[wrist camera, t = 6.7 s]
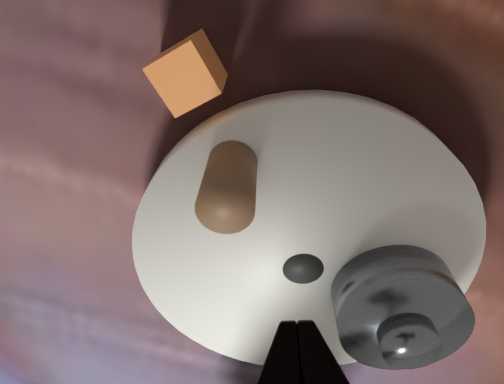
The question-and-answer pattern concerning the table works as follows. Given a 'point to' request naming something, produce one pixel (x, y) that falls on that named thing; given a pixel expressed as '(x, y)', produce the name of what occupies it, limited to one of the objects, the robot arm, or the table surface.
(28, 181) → the table surface
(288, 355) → the robot arm
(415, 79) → the table surface
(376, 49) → the table surface
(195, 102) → the pointer block
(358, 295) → the cover
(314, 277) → the turntable
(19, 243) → the table surface
